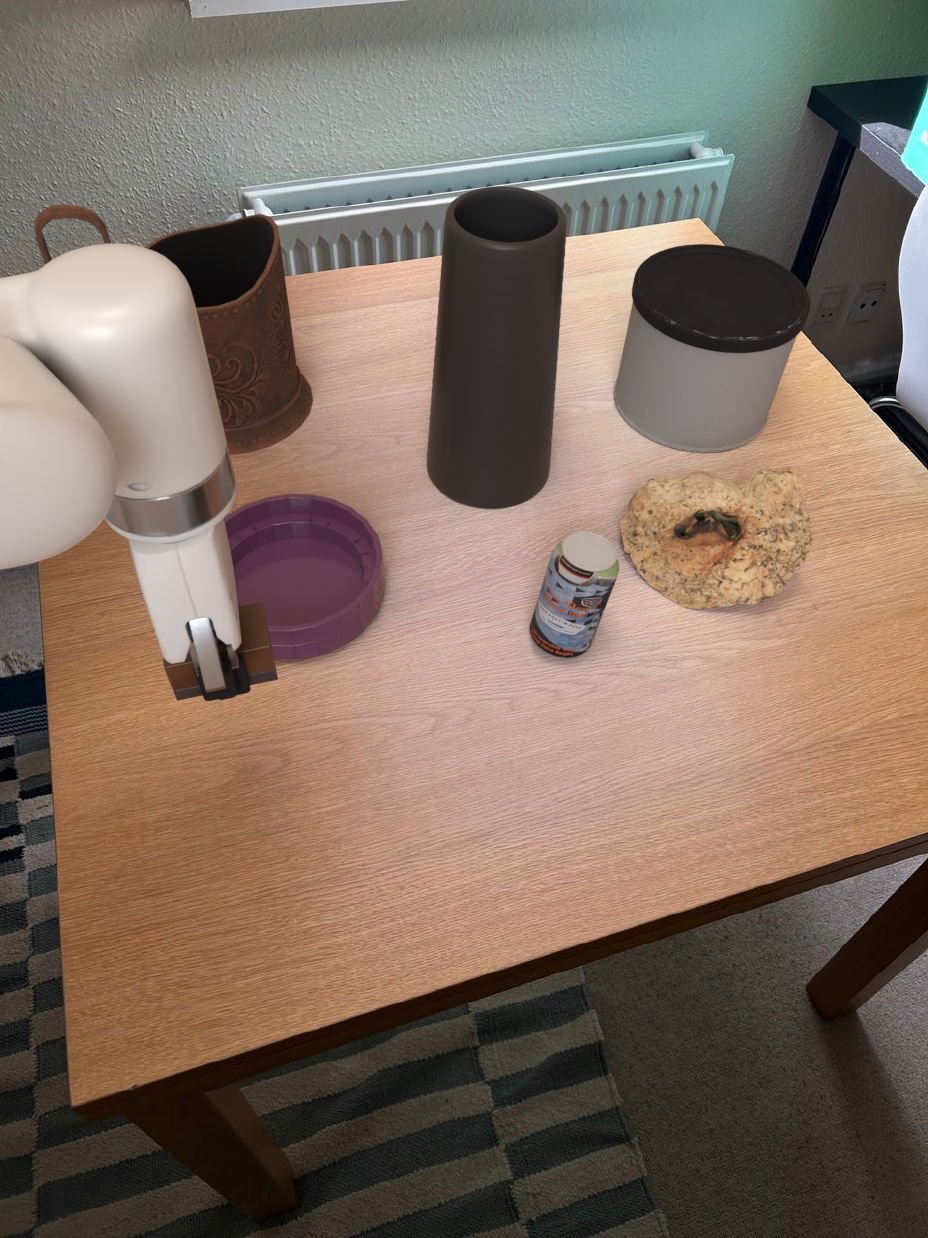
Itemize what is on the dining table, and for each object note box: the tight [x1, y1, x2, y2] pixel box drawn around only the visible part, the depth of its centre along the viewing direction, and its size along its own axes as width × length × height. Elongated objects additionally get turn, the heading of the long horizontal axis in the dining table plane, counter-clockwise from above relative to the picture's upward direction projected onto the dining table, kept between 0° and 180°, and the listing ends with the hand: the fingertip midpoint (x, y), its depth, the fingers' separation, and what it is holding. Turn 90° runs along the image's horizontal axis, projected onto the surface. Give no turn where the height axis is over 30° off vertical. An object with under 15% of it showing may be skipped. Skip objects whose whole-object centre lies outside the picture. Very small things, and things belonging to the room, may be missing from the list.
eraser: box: [162, 602, 279, 701], centre depth 64 cm, size 7×4×4 cm, turn 106°
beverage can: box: [528, 530, 620, 659], centre depth 83 cm, size 6×7×12 cm
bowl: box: [224, 493, 385, 661], centre depth 88 cm, size 17×17×5 cm
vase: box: [426, 185, 568, 510], centre depth 90 cm, size 14×14×29 cm
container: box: [613, 243, 811, 453], centre depth 104 cm, size 19×19×15 cm
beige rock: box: [619, 466, 814, 610], centre depth 92 cm, size 18×14×8 cm
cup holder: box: [33, 204, 314, 455], centre depth 97 cm, size 18×24×25 cm
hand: (223, 665), depth 65 cm, fingers closed on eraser, 4 cm apart
